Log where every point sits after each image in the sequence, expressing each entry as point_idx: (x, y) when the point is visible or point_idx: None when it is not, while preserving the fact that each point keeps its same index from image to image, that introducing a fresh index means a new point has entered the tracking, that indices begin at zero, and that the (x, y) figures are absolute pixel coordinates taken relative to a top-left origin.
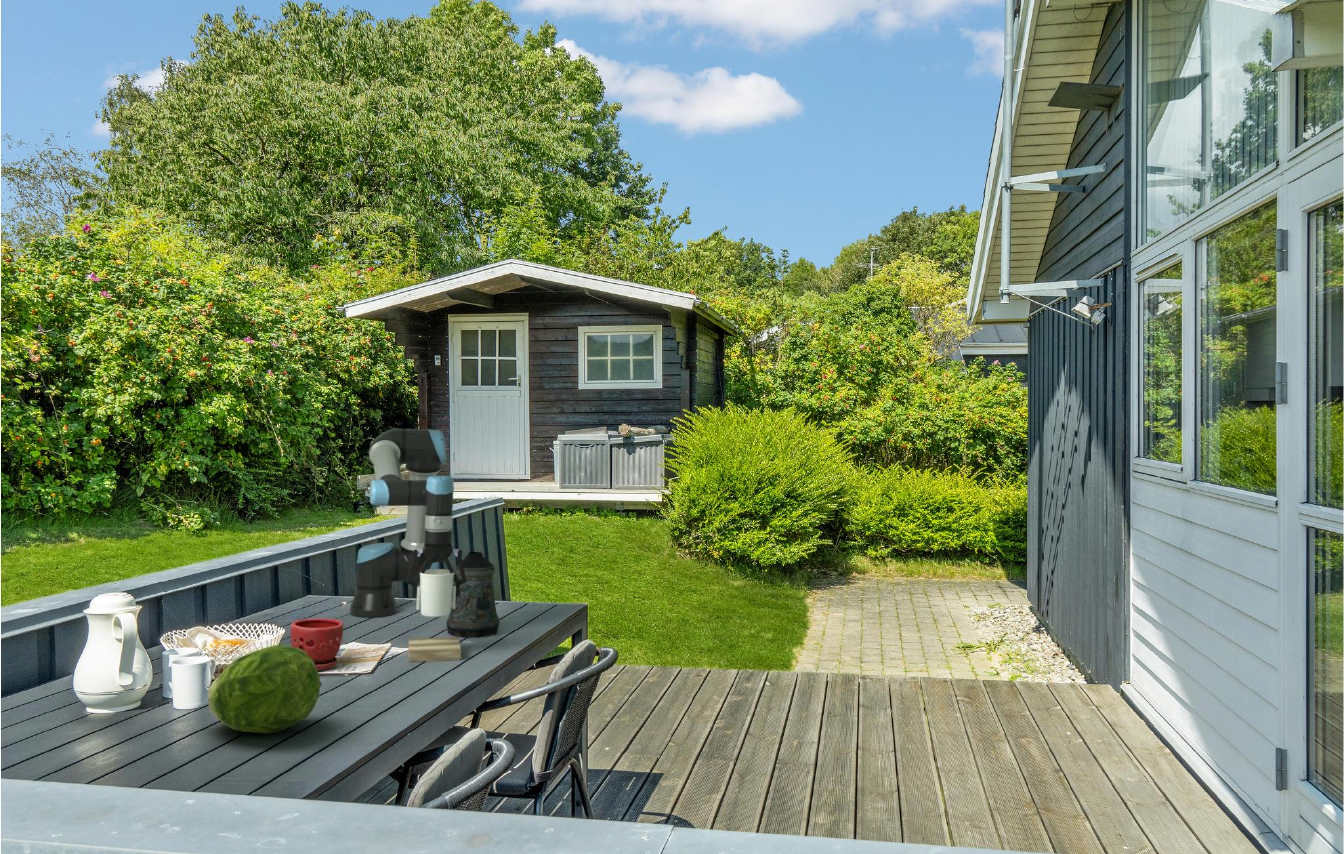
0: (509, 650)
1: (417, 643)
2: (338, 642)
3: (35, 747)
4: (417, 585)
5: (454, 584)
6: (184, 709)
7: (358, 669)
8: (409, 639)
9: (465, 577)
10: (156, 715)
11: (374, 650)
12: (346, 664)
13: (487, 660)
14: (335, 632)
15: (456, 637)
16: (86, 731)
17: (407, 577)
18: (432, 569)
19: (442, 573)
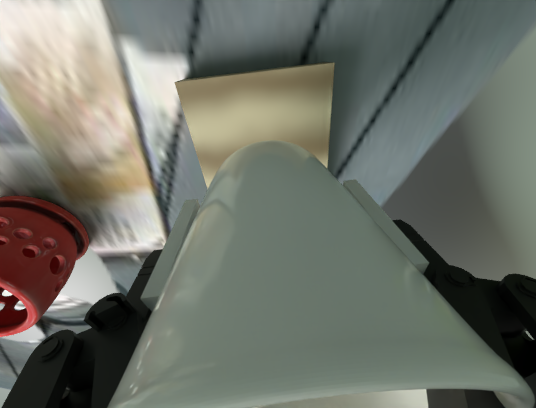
0: (448, 104)
1: (217, 142)
2: (66, 274)
3: (6, 383)
4: (150, 307)
5: (421, 263)
6: (35, 343)
7: (140, 237)
8: (179, 91)
9: (529, 358)
10: (24, 352)
11: (89, 92)
12: (99, 211)
13: (369, 187)
14: (48, 307)
15: (329, 65)
16: (6, 370)
17: (17, 390)
18: (227, 404)
19: (391, 301)
